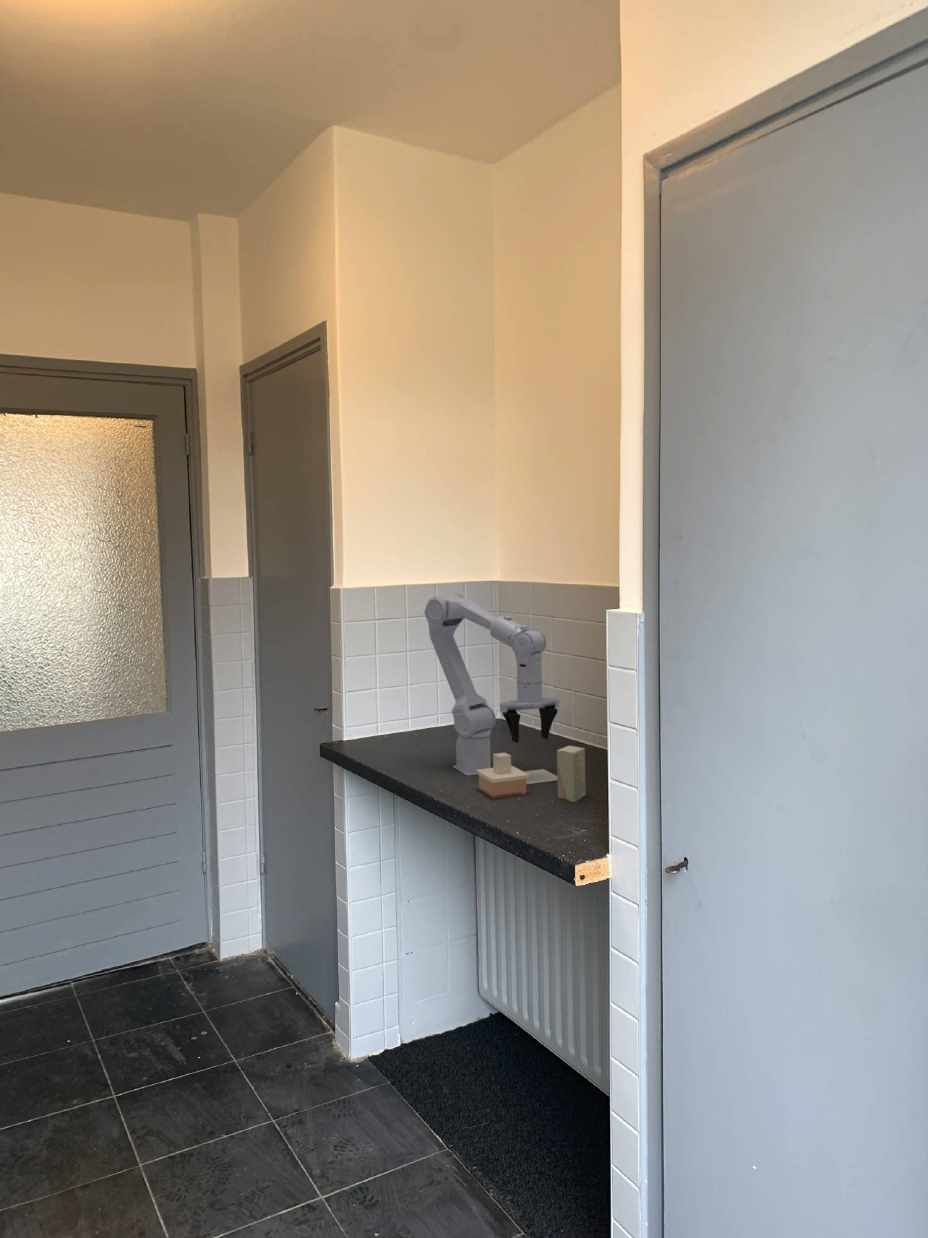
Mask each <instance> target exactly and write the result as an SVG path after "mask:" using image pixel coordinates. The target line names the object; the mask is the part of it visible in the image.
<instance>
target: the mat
mask: <svg viewBox="0 0 928 1238" xmlns="http://www.w3.org/2000/svg"><path fill="white" fill-rule="evenodd" d="M524 772H525V773H527V774H529V778H528V779H526V785H530V784H531V785H532V784H539V783H546V782H552V781H557V774H554V773H552V772H550V771H548V770H546V769H544V768H542V769H541V768H540V769H536V770H535V769H533V770H525V771H524Z"/></svg>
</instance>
